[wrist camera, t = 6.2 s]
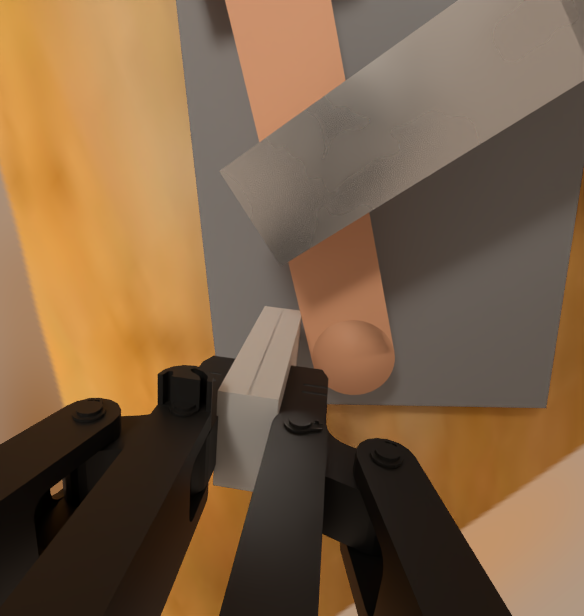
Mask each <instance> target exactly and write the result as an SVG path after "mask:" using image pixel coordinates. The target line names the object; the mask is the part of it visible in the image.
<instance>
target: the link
mask: <svg viewBox="0 0 584 616" xmlns="http://www.w3.org/2000/svg"><path fill="white" fill-rule="evenodd" d="M225 2H226V6H227V10H228V14H229V19H230V23H231V27H232V31H233V35H234V39H235V43H236V48H237V52H238V56H239V60H240V64H241V68H242V72H243V77H244V81H245V85H246V89H247V93H248V97H249V101H250V106H251V110H252V114H253V118H254V122H255V126H256V131H257V135H258V139H259V142H261V141H262V140H263V139H265V138H266V137H268V136H269V135H270V134H272V133H273V132H275V131H276V130H277V129H279V128H280V127H281V126H283V125H284V124H286V123H287V122H288V121H290V120H291V119H293V118H294V117H295V116H297V115H298V114H300V113H301V112H302V111H304V110H305V109H307V108H308V107H309V106H311V105H312V104H314V103H315V102H316V101H318V100H319V99H321V98H322V97H323V96H325V95H326V94H328V93H329V92H330V91H332V90H333V89H335V88H336V87H337V86H339V85H340V84H342V83H343V82H344V81H346V80H345V75H344V69H343V64H342V58H341V53H340V47H339V42H338V36H337V30H336V25H335V19H334V14H333V8H332V3H331V0H225ZM288 263H289V267H290V271H291V276H292V280H293V284H294V288H295V292H296V296H297V300H298V305H299V309H300V313H301V317H302V321H303V325H304V329H305V334H306V338H307V342H308V346H309V350H310V354H311V358H312V363H313V366H314V369H322V370H323V371H324V373H325V374H326V375H327V377H328V387H329V388H331V389H332V390H334V391H337V392H339V393H343V394H348V395H361V394H365V393H368V392H371V391H373V390H375V389H377V388H379V387H380V386H381V385H382V384H384V382H385V381H386V380H387V379H388V378H389V376H390V374H391V372H392V370H393V367H394V363H395V353H394V347H393V342H392V336H391V331H390V325H389V319H388V314H387V308H386V303H385V297H384V292H383V286H382V281H381V275H380V269H379V264H378V258H377V253H376V247H375V242H374V236H373V230H372V225H371V219H370V214H369V213H367V214H366V215H364V216H362V217H361V218H359V219H357V220H356V221H354V222H352V223H351V224H349V225H348V226H346V227H344V228H343V229H341V230H339V231H338V232H336V233H335V234H333V235H331V236H330V237H328V238H326V239H325V240H323V241H322V242H320V243H318V244H317V245H315V246H313V247H312V248H310V249H308V250H307V251H305V252H304V253H302V254H300V255H299V256H297V257H295V258H294V259H292V260H291V261H289V262H288Z"/></svg>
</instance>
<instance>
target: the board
mask: <svg viewBox="0 0 584 616" xmlns="http://www.w3.org/2000/svg"><path fill="white" fill-rule="evenodd" d="M456 1H457V0H331V3H332V8H333V14H334V19H335V25H336V30H337V36H338V42H339V47H340V53H341V58H342V64H343V69H344V75H345V80H347V79H349V78H350V77H351V76H353V75H354V74H356V73H357V72H358V71H360V70H361V69H362V68H364V67H365V66H367V65H368V64H369V63H371V62H372V61H374V60H375V59H376V58H378V57H379V56H381V55H382V54H383V53H385V52H386V51H388V50H389V49H390V48H392V47H393V46H395V45H396V44H397V43H399V42H400V41H402V40H403V39H404V38H406V37H407V36H409V35H410V34H411V33H413V32H414V31H416V30H417V29H418V28H420V27H421V26H423V25H424V24H425V23H427V22H428V21H430V20H431V19H432V18H434V17H435V16H436V15H438V14H439V13H441V12H442V11H443V10H445V9H446V8H448V7H449V6H450V5H452V4H453V3H455V2H456ZM176 5H177V14H178V23H179V32H180V41H181V50H182V59H183V68H184V77H185V86H186V95H187V104H188V113H189V122H190V131H191V140H192V149H193V158H194V167H195V175H196V184H197V193H198V202H199V211H200V220H201V229H202V238H203V247H204V256H205V265H206V274H207V283H208V292H209V301H210V310H211V319H212V328H213V337H214V346H215V355H216V356H220V357H227V358H234V359H236V357H237V355H238V353H239V352H240V350H241V348H242V346H243V344H244V343H245V341H246V339H247V337H248V335H249V334H250V332H251V330H252V328H253V326H254V325H255V323H256V321H257V319H258V317H259V316H260V314H261V312H262V310H263V308H264V307H265V306H269V307H276V308H284V309H292V310H299V311H300V309H299V305H298V300H297V296H296V292H295V288H294V284H293V280H292V276H291V271H290V267H289V263H288V262H287V263H286V264H284V265H282V266H280V265H279V263H278V262H277V260H276V258H275V257H274V255H273V254H272V252H271V251H270V249H269V248H268V246H267V244H266V243H265V241H264V240H263V238H262V237H261V235H260V234H259V232H258V231H257V229H256V227H255V226H254V224H253V223H252V221H251V220H250V218H249V217H248V215H247V214H246V212H245V210H244V209H243V207H242V206H241V204H240V203H239V201H238V200H237V198H236V197H235V195H234V193H233V192H232V190H231V189H230V187H229V186H228V184H227V183H226V181H225V180H224V178H223V176H222V175H221V173H220V172H219V171H220V170H221V169H223V168H224V167H226V166H227V165H228V164H230V163H231V162H233V161H234V160H235V159H237V158H238V157H240V156H241V155H242V154H244V153H245V152H247V151H248V150H249V149H251V148H252V147H254V146H255V145H256V144H258V143H259V139H258V135H257V131H256V126H255V122H254V118H253V114H252V110H251V106H250V101H249V97H248V93H247V89H246V85H245V81H244V77H243V72H242V68H241V64H240V60H239V56H238V52H237V48H236V43H235V39H234V35H233V31H232V27H231V23H230V19H229V14H228V10H227V6H226V2H225V0H176ZM583 167H584V81H582V82H581V83H579V84H577V85H576V86H574V87H572V88H571V89H569V90H568V91H566V92H564V93H563V94H561V95H559V96H558V97H556V98H555V99H553V100H551V101H550V102H548V103H546V104H545V105H543V106H542V107H540V108H538V109H537V110H535V111H533V112H532V113H530V114H528V115H527V116H525V117H524V118H522V119H520V120H519V121H517V122H515V123H514V124H512V125H511V126H509V127H507V128H506V129H504V130H502V131H501V132H499V133H498V134H496V135H494V136H493V137H491V138H489V139H488V140H486V141H484V142H483V143H481V144H480V145H478V146H476V147H475V148H473V149H471V150H470V151H468V152H467V153H465V154H463V155H462V156H460V157H458V158H457V159H455V160H454V161H452V162H450V163H449V164H447V165H445V166H444V167H442V168H440V169H439V170H437V171H436V172H434V173H432V174H431V175H429V176H427V177H426V178H424V179H423V180H421V181H419V182H418V183H416V184H414V185H413V186H411V187H410V188H408V189H406V190H405V191H403V192H401V193H400V194H398V195H396V196H395V197H393V198H392V199H390V200H388V201H387V202H385V203H383V204H382V205H380V206H379V207H377V208H375V209H374V210H372V211H370V212H369V214H370V219H371V225H372V230H373V236H374V242H375V247H376V253H377V258H378V264H379V269H380V275H381V281H382V286H383V292H384V297H385V303H386V308H387V314H388V319H389V325H390V331H391V336H392V342H393V347H394V353H395V363H394V367H393V370H392V372H391V374H390V376H389V378H388V379H387V380H386V381H385V382H384V384H382V385H381V386H380V387H379V388H377V389H375V390H373V391H371V392H368V393H365V394H361V395H348V394H343V393H339V392H337V391H334V390H332V389H331V388H329V387H328V395H327V404H350V405H405V406H461V407H516V408H546V405H547V399H548V393H549V386H550V380H551V373H552V367H553V360H554V354H555V348H556V341H557V335H558V328H559V322H560V315H561V309H562V302H563V296H564V290H565V283H566V277H567V270H568V264H569V257H570V251H571V245H572V238H573V232H574V225H575V219H576V212H577V206H578V199H579V193H580V187H581V180H582V174H583ZM296 366H300V367H307V368H314V366H313V363H312V358H311V354H310V350H309V346H308V342H307V338H306V334H305V329H304V325H303V321H302V320H301V329H300V337H299V346H298V355H297V364H296Z"/></svg>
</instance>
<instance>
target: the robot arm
mask: <svg viewBox="0 0 584 616" xmlns="http://www.w3.org/2000/svg"><path fill="white" fill-rule="evenodd" d="M301 320H302V317H301V313H300V311H299V310H292V309H284V308H276V307H269V306H265V307H264V308H263V310H262V312H261V314H260V316H259V317H258V319H257V321H256V323H255V325H254V326H253V328H252V330H251V332H250V334H249V335H248V337H247V339H246V341H245V343H244V344H243V346H242V348H241V350H240V352H239V353H238V355H237V357H236V359H234V358H227V357H220V356H213V357H211V358H209V359H207V360H205V361H203V362H202V364H201V365H200V366H199V367H197V366H188V365H182V366H174V367H170V368H167V369H165V370H163V371H161V372H160V373H159V374H158V405H157V406H156V408H155V409H154V410H153V411H152V413H151V414H149V415H140V416H121V409H120V407H119V405H118V404H117V403H115V402H114V401H112V400H108V399H103V398H88V399H85V400H80V401H77V402H74V403H72V404H70V405H67V406H66V407H64V408H62V409H61V410H59V411H57V412H55V413H54V414H52V415H50V416H49V417H47V418H45V419H43V420H42V421H40V422H38V423H36V424H35V425H33V426H31V427H30V428H28V429H26V430H24V431H23V432H21V433H19V434H18V435H16V436H14V437H12V438H11V439H9V440H7V441H6V442H4V443H2V444H0V616H161V613H162V611H163V608H164V606H165V603H166V601H167V598H168V596H169V593H170V591H171V589H172V586H173V584H174V581H175V579H176V576H177V574H178V571H179V569H180V566H181V564H182V561H183V559H184V556H185V554H186V551H187V549H188V546H189V544H190V541H191V539H192V536H193V534H194V531H195V529H196V526H197V524H198V522H199V519H200V517H201V514H202V512H203V509H204V507H205V504H206V502H207V497H208V482H209V480H210V477H211V475H212V473H213V470H214V476H213V485H216V486H222V487H228V488H234V489H240V490H246V491H252V492H253V493H252V497H251V501H250V504H249V508H248V512H247V515H246V519H245V523H244V526H243V530H242V534H241V537H240V541H239V545H238V548H237V552H236V556H235V559H234V563H233V567H232V570H231V574H230V578H229V581H228V585H227V589H226V592H225V596H224V600H223V603H222V607H221V611H220V614H219V616H318V605H319V586H320V567H321V547H322V534H324V535H326V536H328V537H331V538H333V539H335V540H337V541H339V542H340V551H341V554H342V558H343V562H344V565H345V569H346V573H347V576H348V580H349V583H350V587H351V591H352V594H353V598H354V602H355V605H356V609H357V613H358V616H512V615H511V613H510V611H509V610H508V608H507V607H506V605H505V603H504V602H503V600H502V598H501V597H500V595H499V593H498V592H497V590H496V589H495V587H494V585H493V584H492V582H491V580H490V579H489V577H488V576H487V574H486V572H485V570H484V569H483V567H482V566H481V564H480V562H479V561H478V559H477V558H476V556H475V554H474V552H473V551H472V549H471V548H470V546H469V544H468V543H467V541H466V539H465V538H464V536H463V534H462V533H461V531H460V529H459V528H458V526H457V525H456V523H455V521H454V520H453V518H452V516H451V515H450V513H449V511H448V510H447V508H446V507H445V505H444V503H443V502H442V500H441V498H440V497H439V495H438V493H437V492H436V490H435V489H434V487H433V485H432V484H431V482H430V480H429V479H428V477H427V475H426V474H425V472H424V471H423V469H422V467H421V466H420V464H419V462H418V461H417V459H416V457H415V456H414V455H413V454H412V453H411V452H410V451H409V449H407V448H405V447H404V446H402V445H401V444H399V443H396V442H394V441H391V440H388V439H379V438H374V439H367V440H365V441H363V442H361V443H360V444H359V446H358V447H357V449H356V448H353V447H351V446H348V445H346V444H344V443H341V442H340V441H338V440H337V439H335V438H334V437H333V436H332V435H331V434H330V433H329V431H328V429H327V426H326V413H327V395H328V377H327V375H326V374H325V373H324V371H323V370H322V369H314V368H307V367H300V366H296V364H297V355H298V346H299V337H300V329H301ZM61 480H63V489H62V490H60V491H59V492H58V493H56V494H54V495H53V496H51V494H50V488H52V487H53V486H54V485H55V484H57V483H58V482H59V481H61Z"/></svg>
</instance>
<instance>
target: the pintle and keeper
mask: <svg viewBox="0 0 584 616" xmlns="http://www.w3.org/2000/svg"><path fill="white" fill-rule="evenodd" d="M582 81H584V0H457V1H456V2H455V3H453V4H452V5H450V6H449V7H448V8H446V9H445V10H443V11H442V12H441V13H439V14H438V15H436V16H435V17H434V18H432V19H431V20H430V21H428V22H427V23H425V24H424V25H423V26H421V27H420V28H418V29H417V30H416V31H414V32H413V33H411V34H410V35H409V36H407V37H406V38H404V39H403V40H402V41H400V42H399V43H397V44H396V45H395V46H393V47H392V48H390V49H389V50H388V51H386V52H385V53H383V54H382V55H381V56H379V57H378V58H376V59H375V60H374V61H372V62H371V63H369V64H368V65H367V66H365V67H364V68H362V69H361V70H360V71H358V72H357V73H356V74H354V75H353V76H351V77H350V78H349V79H347V80H346V81H344V82H343V83H342V84H340V85H339V86H337V87H336V88H335V89H333V90H332V91H330V92H329V93H328V94H326V95H325V96H323V97H322V98H321V99H319V100H318V101H316V102H315V103H314V104H312V105H311V106H309V107H308V108H307V109H305V110H304V111H302V112H301V113H300V114H298V115H297V116H295V117H294V118H293V119H291V120H290V121H288V122H287V123H286V124H284V125H283V126H281V127H280V128H279V129H277V130H276V131H275V132H273V133H272V134H270V135H269V136H268V137H266V138H265V139H263V140H262V141H261V142H259V143H258V144H256V145H255V146H254V147H252V148H251V149H249V150H248V151H247V152H245V153H244V154H242V155H241V156H240V157H238V158H237V159H235V160H234V161H233V162H231V163H230V164H228V165H227V166H226V167H224V168H223V169H221V170H220V171H219V172H220V173H221V175H222V176H223V178H224V180H225V181H226V183H227V184H228V186H229V187H230V189H231V190H232V192H233V193H234V195H235V197H236V198H237V200H238V201H239V203H240V204H241V206H242V207H243V209H244V210H245V212H246V214H247V215H248V217H249V218H250V220H251V221H252V223H253V224H254V226H255V227H256V229H257V231H258V232H259V234H260V235H261V237H262V238H263V240H264V241H265V243H266V244H267V246H268V248H269V249H270V251H271V252H272V254H273V255H274V257H275V258H276V260H277V262H278V263H279V265H280V266H282V265H284V264H286V263H287V262H289V261H291V260H292V259H294V258H295V257H297V256H299V255H300V254H302V253H304V252H305V251H307V250H308V249H310V248H312V247H313V246H315V245H317V244H318V243H320V242H322V241H323V240H325V239H326V238H328V237H330V236H331V235H333V234H335V233H336V232H338V231H339V230H341V229H343V228H344V227H346V226H348V225H349V224H351V223H352V222H354V221H356V220H357V219H359V218H361V217H362V216H364V215H366V214H367V213H369V212H370V211H372V210H374V209H375V208H377V207H379V206H380V205H382V204H383V203H385V202H387V201H388V200H390V199H392V198H393V197H395V196H396V195H398V194H400V193H401V192H403V191H405V190H406V189H408V188H410V187H411V186H413V185H414V184H416V183H418V182H419V181H421V180H423V179H424V178H426V177H427V176H429V175H431V174H432V173H434V172H436V171H437V170H439V169H440V168H442V167H444V166H445V165H447V164H449V163H450V162H452V161H454V160H455V159H457V158H458V157H460V156H462V155H463V154H465V153H467V152H468V151H470V150H471V149H473V148H475V147H476V146H478V145H480V144H481V143H483V142H484V141H486V140H488V139H489V138H491V137H493V136H494V135H496V134H498V133H499V132H501V131H502V130H504V129H506V128H507V127H509V126H511V125H512V124H514V123H515V122H517V121H519V120H520V119H522V118H524V117H525V116H527V115H528V114H530V113H532V112H533V111H535V110H537V109H538V108H540V107H542V106H543V105H545V104H546V103H548V102H550V101H551V100H553V99H555V98H556V97H558V96H559V95H561V94H563V93H564V92H566V91H568V90H569V89H571V88H572V87H574V86H576V85H577V84H579V83H581V82H582Z"/></svg>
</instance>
